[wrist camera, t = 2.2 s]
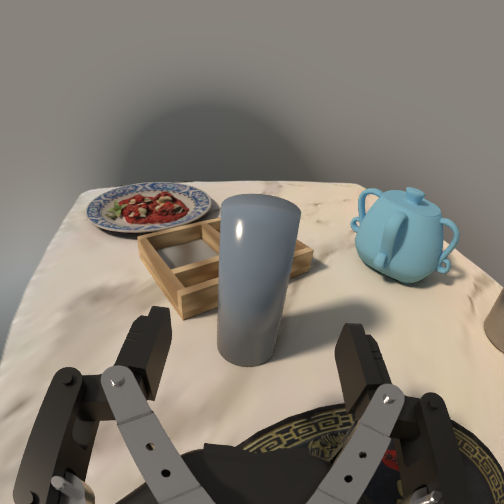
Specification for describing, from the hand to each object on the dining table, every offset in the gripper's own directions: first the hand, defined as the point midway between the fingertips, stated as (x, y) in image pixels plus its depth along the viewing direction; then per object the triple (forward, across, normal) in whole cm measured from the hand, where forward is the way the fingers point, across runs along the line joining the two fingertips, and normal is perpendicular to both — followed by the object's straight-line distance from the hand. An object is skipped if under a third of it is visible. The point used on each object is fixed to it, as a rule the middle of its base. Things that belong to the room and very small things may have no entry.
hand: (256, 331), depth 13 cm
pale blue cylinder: (+12, 0, +14) cm, 18 cm away
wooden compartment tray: (+26, +4, +13) cm, 30 cm away
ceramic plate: (+43, +21, +14) cm, 50 cm away
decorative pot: (+31, -25, +13) cm, 41 cm away
